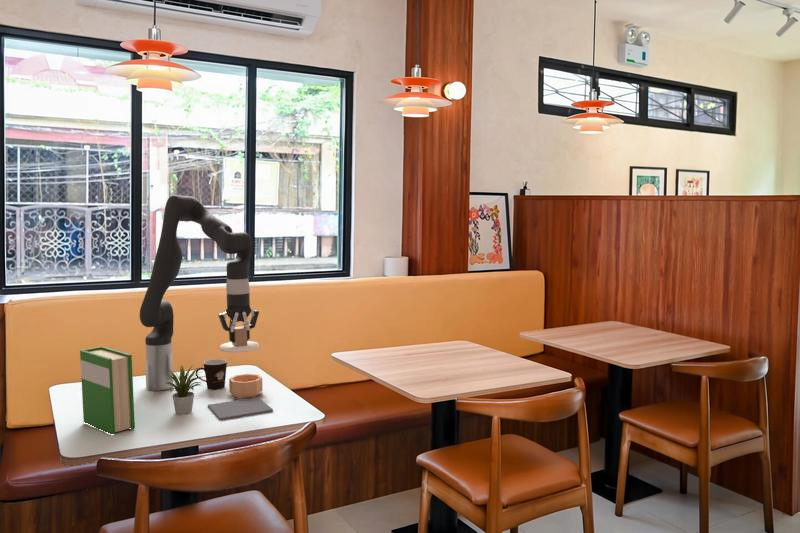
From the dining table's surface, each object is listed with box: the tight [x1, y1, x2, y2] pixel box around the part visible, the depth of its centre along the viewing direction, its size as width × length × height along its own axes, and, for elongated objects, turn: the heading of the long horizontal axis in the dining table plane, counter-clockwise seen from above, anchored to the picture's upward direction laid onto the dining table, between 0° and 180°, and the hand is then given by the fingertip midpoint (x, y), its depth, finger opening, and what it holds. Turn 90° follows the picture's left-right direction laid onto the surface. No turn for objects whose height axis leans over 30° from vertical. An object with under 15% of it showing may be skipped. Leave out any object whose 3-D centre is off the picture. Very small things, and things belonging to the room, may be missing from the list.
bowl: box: [228, 373, 264, 399], centre depth 244 cm, size 11×11×6 cm
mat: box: [207, 396, 274, 421], centre depth 227 cm, size 18×16×1 cm
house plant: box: [165, 365, 206, 416], centre depth 222 cm, size 14×14×16 cm
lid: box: [219, 325, 260, 353], centre depth 225 cm, size 13×13×7 cm
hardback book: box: [79, 345, 136, 435], centre depth 209 cm, size 18×7×24 cm, turn 52°
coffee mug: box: [195, 358, 228, 391], centre depth 252 cm, size 12×9×10 cm
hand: (239, 341), depth 225 cm, fingers closed on lid, 4 cm apart
